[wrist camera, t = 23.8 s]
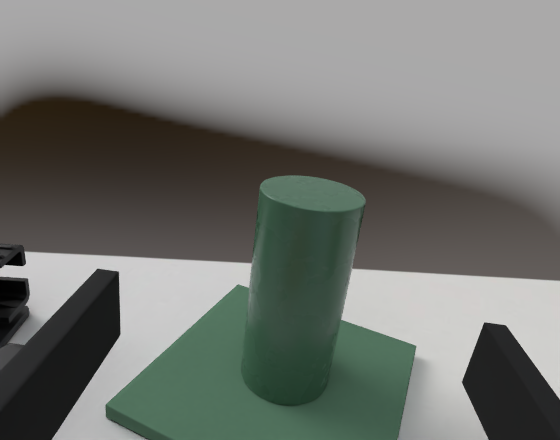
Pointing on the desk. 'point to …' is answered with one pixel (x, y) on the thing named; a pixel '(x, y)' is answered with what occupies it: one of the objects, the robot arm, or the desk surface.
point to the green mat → (250, 407)
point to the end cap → (12, 293)
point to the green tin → (298, 285)
